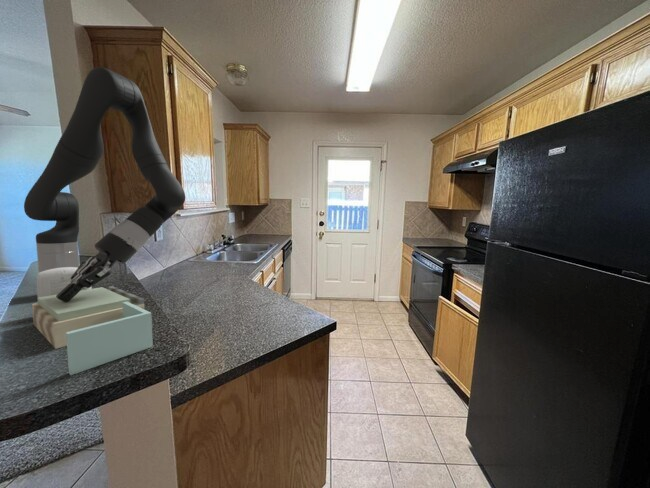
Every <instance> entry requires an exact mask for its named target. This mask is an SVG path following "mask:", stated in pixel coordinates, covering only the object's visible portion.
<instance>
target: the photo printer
mask: <svg viewBox="0 0 650 488" xmlns="http://www.w3.org/2000/svg"><path fill="white" fill-rule="evenodd" d="M77 269H78V268H77V267H62V268H54V269H50V270H46V271H42V272H40V273H39V272H38V273H37V277H36V291H37V292H36V293H37V298H38V297H45V296H51V295H57V294H59V293H60V292H61V291H62V290H63V289H64V288H65V287H66V286H68V285H69V284H70V281H71V279H70V278H71V277H72V275H73V274H74V273H75V271H76V270H77ZM88 289H93V286H91V287H90V288H87V287H86V288H85V289H82V290H88ZM82 290H81V291H82Z"/></svg>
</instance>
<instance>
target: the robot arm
mask: <svg viewBox="0 0 650 488" xmlns="http://www.w3.org/2000/svg"><path fill="white" fill-rule="evenodd" d="M109 109H112V110H115V111H118V112H121V113H122V114H123V115H124V116H125V118H126V120H127V121H128V124H129V126H130V128H131V135H132V136H131V152H132V156H133V158H134V161H135V163H136V165H137V166H138V168H139V171H140V173H141V175H142V176H143V178H144V179H145V180H146V181H147V182H149V183H150V184H151V186H152V188H153V189H154V192H155V195H154V196H153V197H152V198H151V199H150V200H149V201H148V202H147V203H145V204H144V205H143V206H140V207H138V208H137V209H135V210H134V211H133V212H132V213H131V214H130V215H129V216H127V218H125V219H124V220H123V221H121V222H119V223H118V224H117V225H116V226H114V228H113V227H112V229H111V230H110V231H109V232H107V233H106V234H105V235H103V237H102V238H100V240H98V241H97V242H96V243H95V244H94V248H95V249H96V250H97V251H98V253H97V254H96V255H94V256H91V257H89V258H88V259H87V260H84V261H81V263H80V257H79V256H80V255H79V246H78V245H79V243H78V237H79V232H80V206H79V201H78V199H77V198H76V196H75V195H74V194H72V193H70V192H63V189H65V188H66V187H67V186H69V185H72V183H74V182H77V181H79V180H80V179H83V178H85V177H86V176H87V175H89V174H91V173H92V172H93V171H94V170H95V169H96V167H97V166H98V164H99V162H100V160H101V158H102V157H103V154H104V149H105V147H104V140H103V136H102V132H101V131H102V130H101V125H102V122H103V118H104V117H105V116H106V113H107V112H108V110H109ZM150 119H151V118H150V117H149V113H148V109H147V106H146V104H145V100H144V97H143V94H142V91H141V89H140V88H139V86H138V85H137V84H136V83H135V82H134V81H133V80H131V79H130V78H128V77H126V76H123V75H122V74H119V73H117V72H115V71H113V70H110V68H109V69H108V68H106V67H103V66H96V67H94V68H92V69H91V70H90V71H89V72H88V74H87V75H86V77H85V79H84V81H83V85H82V87H81V89H80V92H79V95H78V100H77V102H76V105H75V108H74V111H73V112H72V115H71V117H70V119H69V121H68V124H67V126H66V128H65V129H64V132H63V133H62V135H61V137H60V139H58V142H57V143H56V146H55V148H54V150H53V152H52V155H51V157H50V159H49V161H48V163H47V165H46V166H45V168H44V169H43V172H42V174H40V176H39V177H38V178H37V180H36V181H35V183H34V184H33V185H32V187H31V188H30V190H29V191H28V193H27V195H26V196H25V200H24V204H23V210H24V213H25V215H26V216H27V217H28V218H29V219H31V220H33V221H40V222H41V221H44V222H56V223H55V225H54V226H53V227H52V228H50V229H47V230H45V231H42V232H41V231H40V232H39V233H37V234H36V235H35V243H36V245H35V246H36V254H37V268H38V273H40V272H42V271H46V270H50V269H54V268H62V267H77V268H78V269H77V270H76V271H75V273H74V274H73V275H72V277H71V278H70V279H71V281H70V284H69V285H68V286H66V287H65V288H64V289H63V290H62V291H61V292H60V293H59V294H58V295H57V296H56V297H57V298H58V299H59V300H62V301H64V302H69V301H70V300H71V299H72V298H73V297H74V296H75V295H76V294H77V293H78V292H79V291H81V290H82V289H85V288H86V287H87V288H90V287H91V286H92V287H93V286H94V285H96V284H97V283H99V282H101V281H102V280H104V279H105V278H107V277H108V276H110V275H111V273H112V272H111V269H112V267H113V266H114V265H115V263H117V264H120V265H125V264H126V263H127V262H128V261H129V260H130V259H131V258H132V257H133V256H134V255H135V254H136V253H137V252H138V251H140V249H141V248H143V246H144V245H146V243H147V242H148V240H149V239H150V238H151V237H152V236H153V235H154V234H155V233H156V232H157V231H158V230H159V229H160V228H161V226H162V225H164V223H165V222H166V221H167V220H169V219H170V218H171V217H172V216H174V215H175V214H176V213H177V212H178V211H179V210H180V209H181V208H182V206H183V205H184V204H185V201H186V192H185V190H184V188H183V187H182V185H181V183H180V182H179V180H178V179H177V178H176V176H175V175H174V174H173V172H172V171H171V170H170V167H169V165H168V163H167V161H166V159H165V157H164V155H163V153H162V150H161V148H160V145H159V143H158V142H157V138H156V135H155V133H154V130H153V126H152V123H151V120H150Z"/></svg>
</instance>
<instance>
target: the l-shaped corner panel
mask: <svg viewBox="0 0 650 488" xmlns="http://www.w3.org/2000/svg"><path fill="white" fill-rule="evenodd" d="M122 307H123V318H122V319H118V320H114V321H110V322H106V323H102V324H98V325H94V326H90V327H86V328H82V329H78V330H73V331H69V332H66V340H67V346H66V352H67V364H68V365H67V367H68V374H69V375H70V376H72V375H73V376H74V375H75V374H79V373H81V372H84V371H87V370H90V369H93V368H96V367H98V366H101V365H105V364H107V363H110V362H112V361H113V362H114V361H116V360H118V359H121V358H124V357H128V356H130V355H133V354H135V353H136V354H137V353H139V352H142V351H144V350H148V349H150V348H152V347H154V343H153V341H154V340H153V323H152V322H153V320H152V317H153V316H152V312H151V311H148V310H147V309H145V310H144V309H142V308H140V307H138V306H136V305H134V304H131V303H129V302H122Z"/></svg>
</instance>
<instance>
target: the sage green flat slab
mask: <svg viewBox="0 0 650 488" xmlns="http://www.w3.org/2000/svg"><path fill="white" fill-rule="evenodd" d="M57 295H58V294H57ZM57 295H51V296H45V297H38V296H37V299H36V300H37V303H38V304H39V305H40V306H41V307H42V308H43V309H44V310H46V311H47V312H48V313H49V314H50V315H51V316H53V317H54V318H55V319H56V320H57V321H62V320H67V319H71V318H76V317H80V316H85V315H89V314H94V313H98V312H103V311H107V310H112V309H116V308H121V307H122V302H129V303H130V299H129V298H126V297H124V296H122V295H119V294H117V293H115V292H112V291H110V290H109V289H108V288H105V287H103V286H102V287H94V288H92V289H88V290H82V291H79V292H78V293H77V294H76V295H75V296H74V297H73V298H72V299H71V300H70V301H69V302H64V301H62V300H59V299H58V298H57V297H56V296H57Z"/></svg>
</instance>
